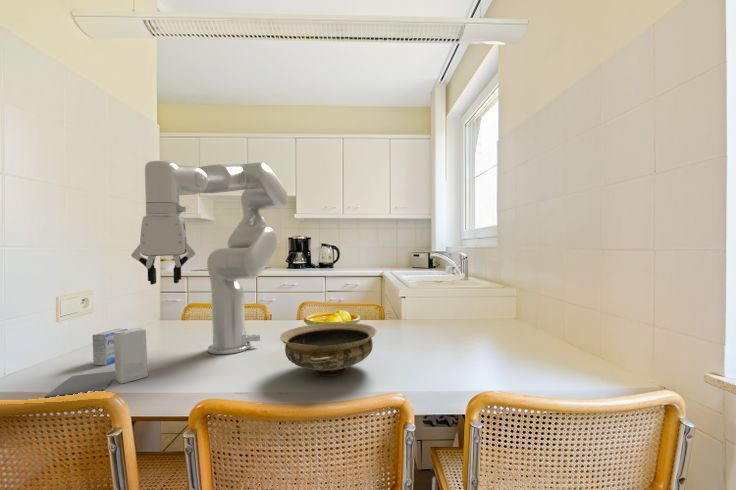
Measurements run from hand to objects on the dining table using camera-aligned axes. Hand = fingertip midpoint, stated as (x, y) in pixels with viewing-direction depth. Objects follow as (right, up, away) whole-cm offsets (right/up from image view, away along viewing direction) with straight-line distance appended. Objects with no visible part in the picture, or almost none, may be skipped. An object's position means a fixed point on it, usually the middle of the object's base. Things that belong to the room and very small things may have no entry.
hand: (165, 282), depth 97 cm
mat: (-16, -24, -5) cm, 29 cm away
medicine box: (-23, -24, +14) cm, 36 cm away
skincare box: (-7, -24, -2) cm, 25 cm away
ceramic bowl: (+42, -22, -1) cm, 47 cm away
